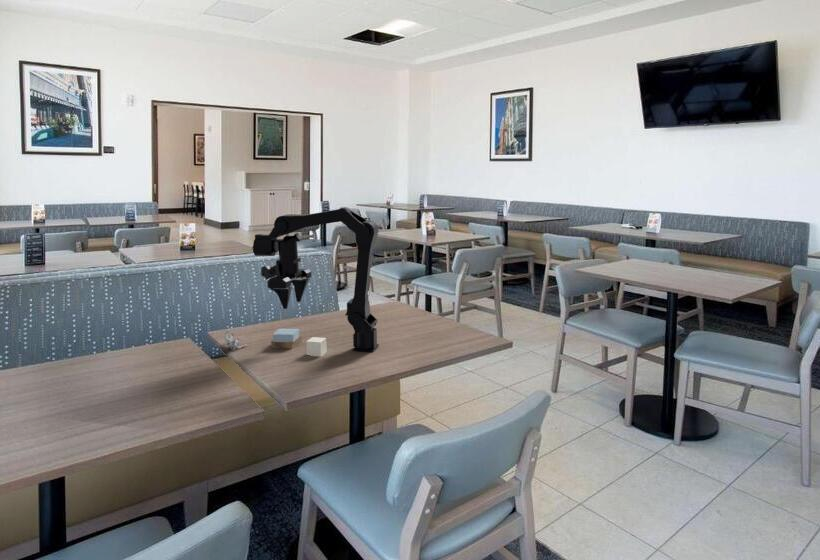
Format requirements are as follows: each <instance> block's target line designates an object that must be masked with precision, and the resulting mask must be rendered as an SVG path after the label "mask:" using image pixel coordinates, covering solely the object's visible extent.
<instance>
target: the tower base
mask: <svg viewBox="0 0 820 560" xmlns="http://www.w3.org/2000/svg"><path fill="white" fill-rule="evenodd" d="M270 343H271V344H270V345H271V348H272V347H276V348H277V349H285V348H287V349H288V350H292V349H294V348H295V347H297V346H299V345H300V344H301V343H302V336H300V335H299V337H298V338H297V339H296V340H295V341H294V342H273V340H271V342H270ZM276 348H275V349H276ZM287 349H286V350H287Z"/></svg>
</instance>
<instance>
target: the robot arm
mask: <svg viewBox="0 0 820 560" xmlns="http://www.w3.org/2000/svg"><path fill="white" fill-rule="evenodd" d="M338 222H340V223H342V224H344V226H345V227H347V228H348V229H349V230H350V231H351V232H353V233H354V234H355V244H356V247H357V259H356V260H357V261H356V271H355V281H354V291H353V292H354V293H353V297H352V298H350V299H349V300H348V301H347V302H346V313H345V317H346V316H347V318H346V319H347V322H348V323H349V324H350V326H352V328H353V330H354V333H353V334H352V343H353V348H352V351H355V352H357V351H358V352H371V353H372V352H374V351H375V350H377V348H378V347H379V346H380V345H379V344H378V332H377V331H378V330H377V328H376V326H377V323H378V319H377V318H376V317H375V316H374V315H373V314H372V312H371V306H370V301H369V285H370V278H371V277H370V274H371V266H372V256H373V250H374V247H375V244H376V241H377V238H378V234H379V229H380V228H379V226H378V224H377V223H376V222H375V221H373V220H367V219H366V218H364V217H363V216H361V215H359V214H358V213H355V212H354V211H353V210H351V208H349V207H346V206H344V207H340V208H338V209H337V208H336V209H331V210H326V211H321V212H320V211H319V212H316V213H308V214H295V213H294V214H293V213H291V214H283V215H280V216H277V217H276V218H275V220H274V222H273V225H274V226H273V228H272V229H271V231H270V232H269V234H262V233H257V234H255V235H254V240H253V243H252V244H253V245H252V253H253V255H254V256H255V257H275V256H276V254H277V253H278V259H276V260H275V265H272V266H269V264H268V265H264V266H262V267H260V275H261V277H263V278H264V279H265V280H266V281H267V282H266V284H267V289H270V291H273V292H274V293H276V295H277V297H278V299H279V301H280V304H281V306H282V309H284V310H287V309H288V307H289V302H290V297H291V293H292V289H294V293H295V294H294V295H295V298H296V302H297V303H300V302H301V301H302V299H303V297H304V293H305V290H306V288H307V286H308V284H309V282H310V280H311V278H312V271H311V269H309V268H300V267H299V265H300V264H299V263H300V262H302V259H301V257H299V253H298V252H299V251H298V243H299V242H301V241H304V237H303V236H301V235H300V234H299V232H297V231H299V230H303V229H306V228H310V227H316V226H321V225H322V226H323V225H327V224H332V223H338ZM295 232H296V233H295ZM291 233H294V234H293V235H288V234H291ZM283 236H284V237H283ZM281 237H283V238H281ZM291 285H293V287H294V288H293V287H292V286H291Z"/></svg>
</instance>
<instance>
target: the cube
mask: <svg viewBox="0 0 820 560" xmlns="http://www.w3.org/2000/svg"><path fill="white" fill-rule="evenodd" d="M305 343H306V356H307V355H310V356H309V357H322V356H324V355H325V354H326V353H327V351H328V348H327V337H315V336H312V337H310V338H309V339H307V340H306V342H305Z"/></svg>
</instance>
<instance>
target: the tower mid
mask: <svg viewBox="0 0 820 560" xmlns="http://www.w3.org/2000/svg"><path fill="white" fill-rule="evenodd" d="M299 336H300V328H278V329H277V330H276V331H275V332H274V333H273V334H272V341H273V342H294V341H295V340H296V339H297V338H298V337H299Z"/></svg>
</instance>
